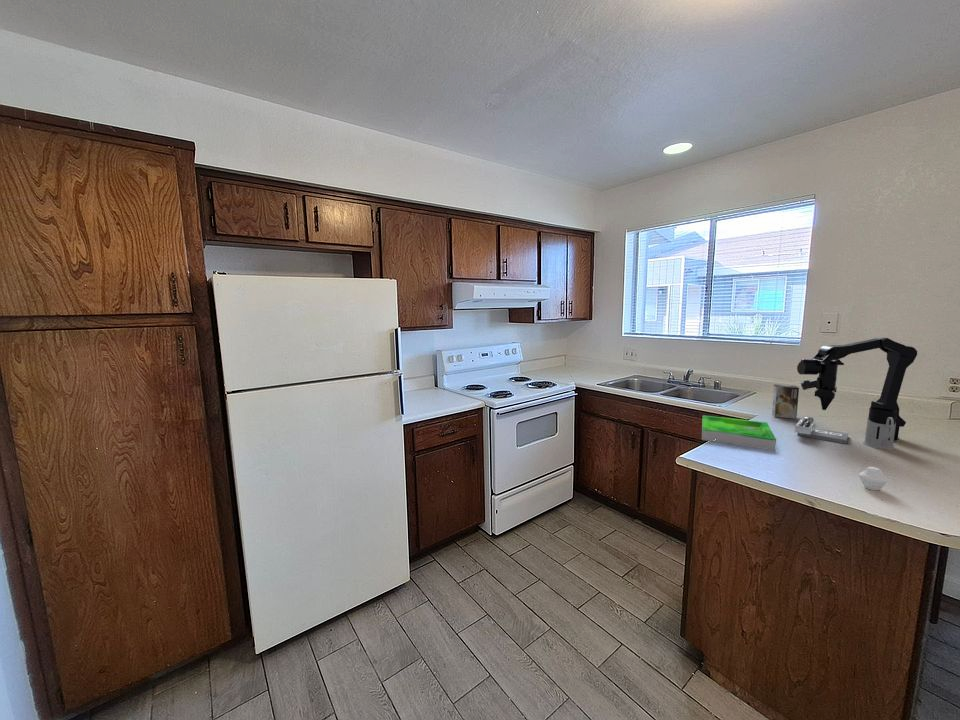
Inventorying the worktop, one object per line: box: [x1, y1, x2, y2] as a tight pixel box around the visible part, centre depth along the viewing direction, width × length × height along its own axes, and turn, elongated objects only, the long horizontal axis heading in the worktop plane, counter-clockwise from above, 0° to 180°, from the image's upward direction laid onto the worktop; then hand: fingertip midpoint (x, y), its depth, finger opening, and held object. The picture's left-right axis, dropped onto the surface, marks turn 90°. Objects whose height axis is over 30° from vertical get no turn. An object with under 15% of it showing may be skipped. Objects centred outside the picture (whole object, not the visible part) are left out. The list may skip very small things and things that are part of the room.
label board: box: [797, 427, 849, 445], centre depth 163 cm, size 16×12×2 cm
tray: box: [701, 414, 777, 451], centre depth 164 cm, size 25×25×5 cm
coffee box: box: [771, 384, 800, 419], centre depth 192 cm, size 9×6×16 cm
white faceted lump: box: [858, 466, 889, 491], centre depth 115 cm, size 6×6×7 cm
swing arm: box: [794, 416, 816, 435], centre depth 163 cm, size 15×5×5 cm, turn 132°
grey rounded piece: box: [862, 406, 897, 450], centre depth 148 cm, size 9×14×15 cm, turn 149°
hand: (823, 409), depth 164 cm, fingers closed
